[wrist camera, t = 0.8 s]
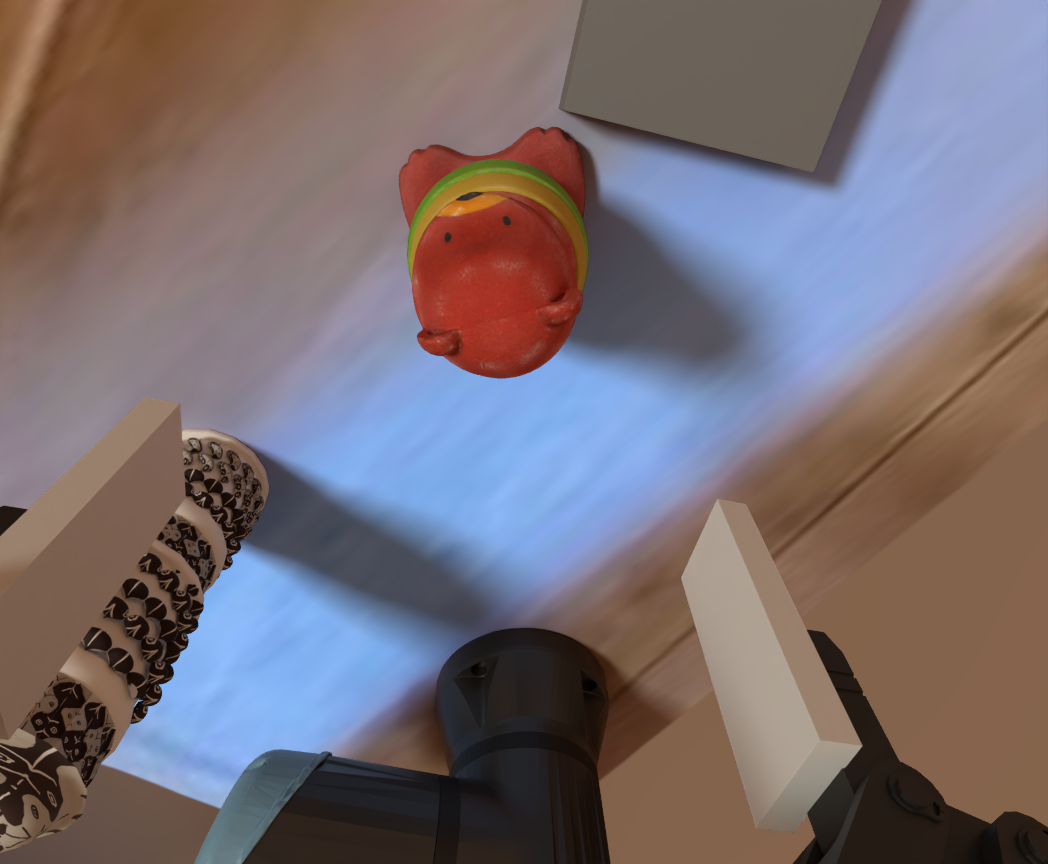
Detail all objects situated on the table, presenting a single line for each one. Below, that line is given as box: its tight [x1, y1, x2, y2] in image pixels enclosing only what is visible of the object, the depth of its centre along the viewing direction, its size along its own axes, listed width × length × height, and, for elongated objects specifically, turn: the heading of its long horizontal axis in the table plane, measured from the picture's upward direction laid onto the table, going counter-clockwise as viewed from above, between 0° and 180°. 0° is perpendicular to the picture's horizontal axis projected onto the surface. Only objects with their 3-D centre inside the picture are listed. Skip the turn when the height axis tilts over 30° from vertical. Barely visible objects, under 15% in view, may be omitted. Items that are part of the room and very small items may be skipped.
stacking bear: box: [399, 127, 589, 378], centre depth 32 cm, size 11×10×18 cm
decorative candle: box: [0, 429, 269, 853], centre depth 37 cm, size 9×9×25 cm
